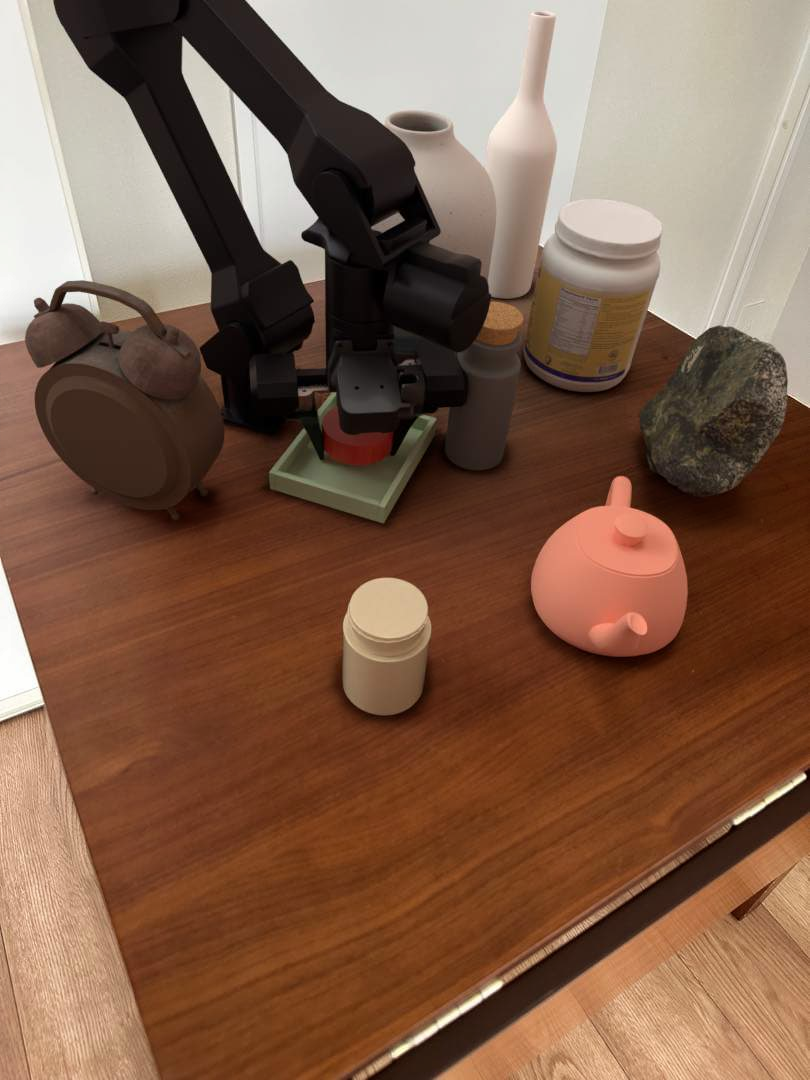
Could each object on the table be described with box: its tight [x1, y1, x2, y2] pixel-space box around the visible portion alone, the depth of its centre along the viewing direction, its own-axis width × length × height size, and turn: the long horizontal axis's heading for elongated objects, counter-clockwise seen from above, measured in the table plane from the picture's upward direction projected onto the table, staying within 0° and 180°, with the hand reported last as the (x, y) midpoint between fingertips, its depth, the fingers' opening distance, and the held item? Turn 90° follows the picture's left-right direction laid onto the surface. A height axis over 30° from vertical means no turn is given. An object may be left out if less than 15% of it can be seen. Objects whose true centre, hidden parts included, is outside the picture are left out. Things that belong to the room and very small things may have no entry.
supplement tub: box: [523, 198, 664, 393], centre depth 83 cm, size 12×12×17 cm
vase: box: [371, 109, 497, 364], centre depth 81 cm, size 17×17×24 cm
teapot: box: [530, 475, 689, 658], centre depth 59 cm, size 12×18×10 cm
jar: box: [341, 577, 432, 716], centre depth 54 cm, size 6×6×8 cm
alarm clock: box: [24, 279, 225, 521], centre depth 62 cm, size 15×7×20 cm, turn 71°
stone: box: [637, 324, 789, 498], centre depth 70 cm, size 15×10×15 cm
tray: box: [268, 393, 438, 524], centre depth 74 cm, size 11×14×2 cm
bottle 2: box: [444, 301, 524, 471], centre depth 71 cm, size 6×6×15 cm
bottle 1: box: [483, 10, 558, 300], centre depth 91 cm, size 8×8×30 cm
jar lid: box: [321, 406, 394, 465], centre depth 72 cm, size 7×7×2 cm
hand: (356, 455), depth 74 cm, fingers closed on jar lid, 6 cm apart
